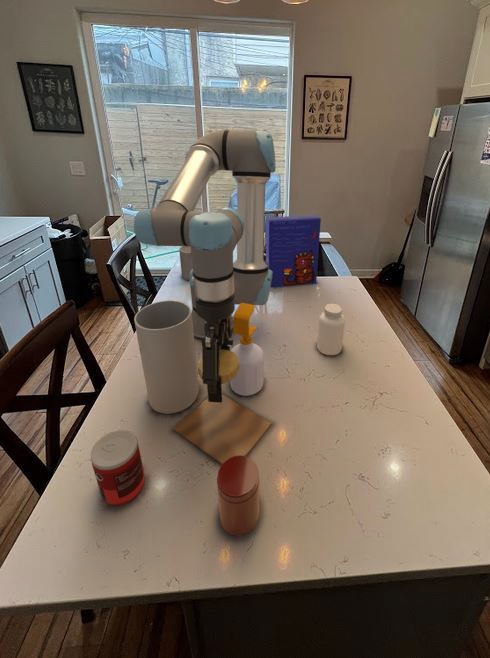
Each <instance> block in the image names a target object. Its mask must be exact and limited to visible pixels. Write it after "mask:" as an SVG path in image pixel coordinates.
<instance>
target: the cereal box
mask: <svg viewBox="0 0 490 658" xmlns="http://www.w3.org/2000/svg"><path fill="white" fill-rule="evenodd" d="M321 222H322V219H321V217H320V216H318V215H317V214H311V215H310V214H309V215H288V216H267V217H266V216H265V262H266V263H267V264H268V270H271V271H272V272H273V273H272V281H271V287H270V289H272V288H281V287H291V286H302V285H311V284H312V285H313V284H317V277H318V266H319V265H318V263H319V250H320V237H321V224H322V223H321Z"/></svg>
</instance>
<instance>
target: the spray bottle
mask: <svg viewBox="0 0 490 658" xmlns="http://www.w3.org/2000/svg"><path fill="white" fill-rule="evenodd" d="M255 306H256V305H251V304H246V303H240V304H238V306H237V308H236V309H235V310H234V312H233V315H232V317H233V329H232V330H233V334H234V335H236V336H237V335H238V336H241V337H240V338H239V343H238V344H235V345H234V346H233V347H232V349H230V351H232V352H233V353H235V354H236V355H237V357H238V359H239V371H238V374H237V375H236V377H235V378H233V379H232V380H231V381H229V385H230V388H231V390H232V391H233V392H234V393H235V394H237V395H239V396H244V397H245V396H246V397H247V396H253V395H255V394H258V392H260V391H261V390H262V389H263V386H264V378H265V377H264V375H265V374H264V364H265V363H264V361H265V360H264V359H265V356H264V352H263V350H262V347H261V346H259V344H256V343H254V341H253V340H254V339H253V337H252V336H253V334H254V333H255V331H256V330H257V327H256V326H255V325H252V324H251V325H250V318H251V316H252V314H253V313H254V311H255V309H256V307H255Z"/></svg>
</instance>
